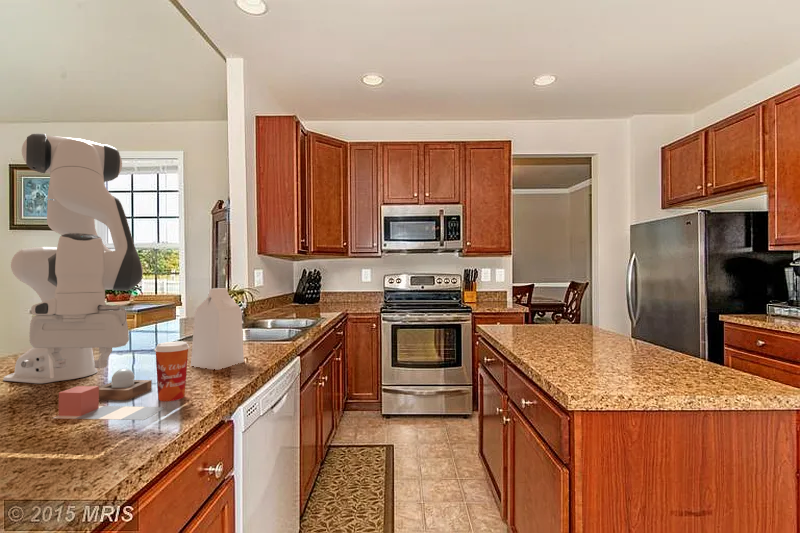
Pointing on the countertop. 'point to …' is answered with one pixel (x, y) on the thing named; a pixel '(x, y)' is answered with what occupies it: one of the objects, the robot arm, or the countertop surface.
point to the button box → (124, 390)
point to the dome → (122, 378)
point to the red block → (78, 400)
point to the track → (118, 413)
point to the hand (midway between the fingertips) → (80, 367)
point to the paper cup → (171, 370)
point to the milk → (217, 332)
